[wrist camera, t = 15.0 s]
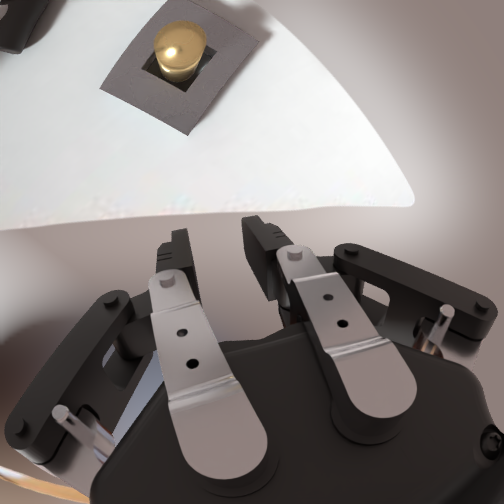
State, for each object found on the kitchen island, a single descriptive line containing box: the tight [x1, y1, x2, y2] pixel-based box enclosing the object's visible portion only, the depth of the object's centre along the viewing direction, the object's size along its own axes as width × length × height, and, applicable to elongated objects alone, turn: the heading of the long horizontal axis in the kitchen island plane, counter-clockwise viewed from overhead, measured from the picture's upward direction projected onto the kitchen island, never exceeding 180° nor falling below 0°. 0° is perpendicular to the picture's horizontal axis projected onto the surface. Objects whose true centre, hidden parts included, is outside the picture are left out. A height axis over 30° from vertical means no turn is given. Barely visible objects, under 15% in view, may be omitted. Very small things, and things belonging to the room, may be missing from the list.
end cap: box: [0, 0, 49, 54], centre depth 12 cm, size 10×7×7 cm
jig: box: [99, 0, 259, 136], centre depth 25 cm, size 12×14×4 cm
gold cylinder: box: [154, 20, 207, 82], centre depth 22 cm, size 4×4×11 cm
